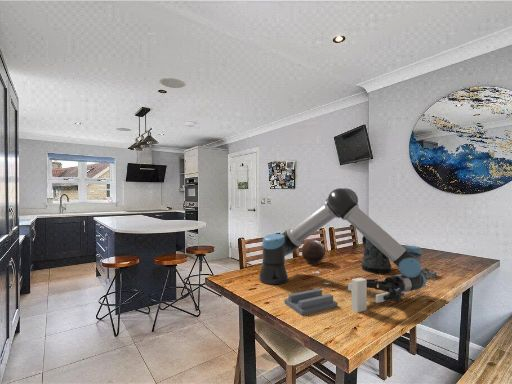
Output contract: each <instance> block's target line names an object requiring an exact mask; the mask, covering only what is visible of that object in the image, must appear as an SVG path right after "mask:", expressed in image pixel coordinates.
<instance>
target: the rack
mask: <svg viewBox="0 0 512 384" xmlns="http://www.w3.org/2000/svg"><path fill="white" fill-rule="evenodd" d="M287 295H288V297H287V298H285V299H284V300H283V301H284V304H285V305H286V306H288V307H289V308H290V309H292V310H293V311H294V312H296V313H297V314H299V315H300V316H303V315H307V314H309V315H310V314H312V313H316V312H320V311H325V310H329V309H333V308H337V307H338V306H339V305H338V302H337V301H335V300H334V295H332V294H330V293H327V294H323V289H321V288H314V289H310V290H306V291H304V290H303V291H300V292H295V293H289V294H287Z"/></svg>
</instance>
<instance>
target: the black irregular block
mask: <svg viewBox="0 0 512 384" xmlns="http://www.w3.org/2000/svg"><path fill="white" fill-rule="evenodd" d="M361 239H362V240H361V243H362V246H363V249H364V252H363V258H362V261H361V265H360V266H361V269H362V270H363V271H365V272H367V273H371V274H376V275H378V274H379V275H386V274H390V273H391V271H392V270H391V269H392V264H391V262H390V261H391V260H390V259H389V258H388V257H387V256H386V255H385V254H383V253H382V252H381V251H380V250H379V249H378V248H377V247H376V246H375V245H374V244H372V243H371V242H370V241H369V240H368V239H367V238H366V237H365V236H364V235H363V236H362V237H361Z"/></svg>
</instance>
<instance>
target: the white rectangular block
mask: <svg viewBox="0 0 512 384" xmlns="http://www.w3.org/2000/svg"><path fill="white" fill-rule="evenodd" d="M366 279H367V278H363V277H357V278H352V279H351V283H352V290H351V301H350V302H351V311H353V312H356V313H361V312H364V311H367V307H368V306H367V300H368V299H367V296H368V295H367V289H368V288H367V280H366Z"/></svg>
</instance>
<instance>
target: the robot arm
mask: <svg viewBox="0 0 512 384" xmlns="http://www.w3.org/2000/svg"><path fill="white" fill-rule="evenodd" d="M335 218H336V219H337V218H338V219H342V220H343V221H347V222H348V223H350V224H351V226H353V227H354V228H355V229H356V230H357V231H358V232H359V233H360V234H361V235H363V236H365V237H366V238H367V239H368V240H369V241H370V242H371V243H372V244H374V245H375V246H376V247H377V248H378V249H379V250H380V251H381V252H382V253H383V254H385V255H386V256H387V257H388V258H389V261H391V262H392V263H393V264H394V265H395V266H397V268H398V270H399V271H400V274H396V275H391V276H387V277H385V279H384V280H381V281H380V280H378V278H373V279H372V278H368V279H367V278H365V279H366V280H367V289H375V290H376V291H383V293H377V294H375V303H376V304H379V303H383V302H385V301H387V302H388V301H395V302H397V303H399V302H400V300H401V298H402V297H403V296H404V295H405V293H407V292H408V293H409V292H412V291H417V290H420V289H423V288H424V287H425V286H426V285H427V278H425V276H424V275H423V274H422V273H421V269H422V249H421V247H419V246H417V245H403V246H402V244H400V243H399V242H398V241H397V240H396V239H395V238H393V236H391V235H390V234H389V233H388V232H387V231H385V230H384V229H383V227H381V226H380V225H379V224H378V223H377V222H375V221H374V220H373V219H372V218H371V217H369V216H368V215H367V214H366V213H365V211H363V210H361V208H360V206H359V197H358V195H357V193H356V192H355V191H354V190H352V189H350V188H348V187H346V188H341V187H339V188H336V189H333V190H332V191H331V192H330V193H329V194H328V197H327V198H326V199H325V200H324V205H322V206H320V207H319V208H318V209H317V210H316V211H314V212H313V213H311V214H310V215H309V216H308V217H307V218H305V219H304V220H302V221H301V222H299V224H298V225H295V226H294V227H293V228H288V229H287V230H285V231H284V232H282V233H272V234H266V235H265V236H264V237H263V239H262V245H261V246H262V265H261V270H260V273H259V276H258V278H259V279H258V280H259V282H261V283H264V284H267V285H283V284H285V283H287V282H288V281H289V280H288V279H289V276H288V272H287V270H286V266H285V265H286V264H285V262H286V261H285V256H288V255H291V254H294V252H296V251H297V250H298V248H300V247H301V246H303V245H302V243H303V241H305V240H306V239H307V238H309V237H310V236H312V235H314V233H316V232H317V231H319V230H320V229H321V228H322V227H324V226H326V225H327V224H328V223H330V222H331V221H332V220H334V219H335ZM351 290H352V282H350V283H347V291H351Z"/></svg>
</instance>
